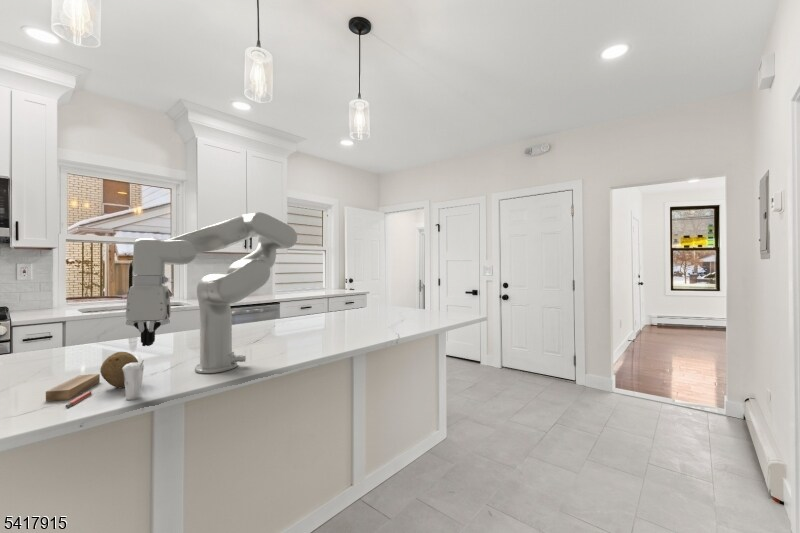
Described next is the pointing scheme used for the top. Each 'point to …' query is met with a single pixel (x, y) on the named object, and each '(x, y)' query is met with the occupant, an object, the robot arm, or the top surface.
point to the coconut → (116, 368)
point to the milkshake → (133, 380)
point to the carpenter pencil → (78, 399)
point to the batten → (72, 387)
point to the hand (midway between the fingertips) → (147, 345)
